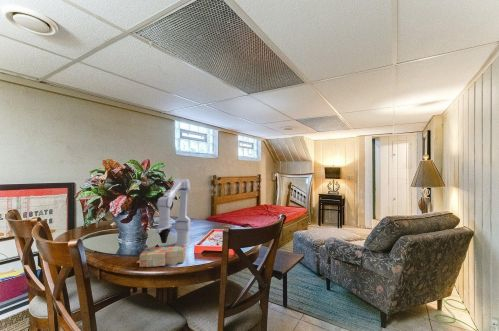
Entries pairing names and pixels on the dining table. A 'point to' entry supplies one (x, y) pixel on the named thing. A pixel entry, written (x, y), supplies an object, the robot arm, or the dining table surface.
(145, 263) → the stack of blocks
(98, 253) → the dining table surface
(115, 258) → the dining table surface
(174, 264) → the mat
